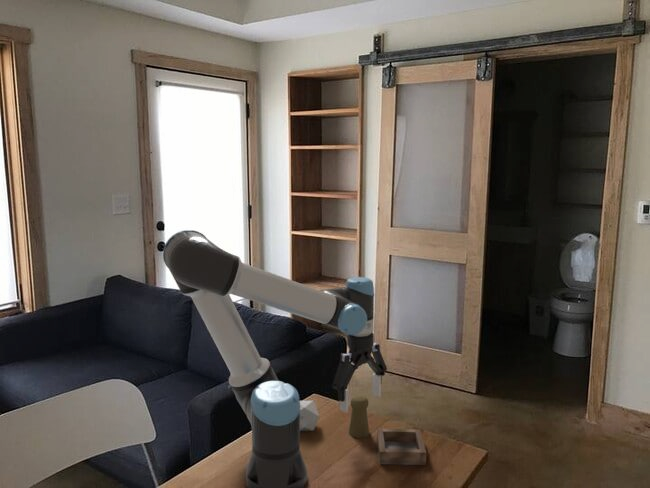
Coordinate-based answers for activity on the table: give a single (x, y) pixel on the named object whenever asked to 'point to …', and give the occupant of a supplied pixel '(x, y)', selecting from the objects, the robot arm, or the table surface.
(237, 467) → the table surface
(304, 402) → the die
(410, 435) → the wooden tray
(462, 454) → the table surface
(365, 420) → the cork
